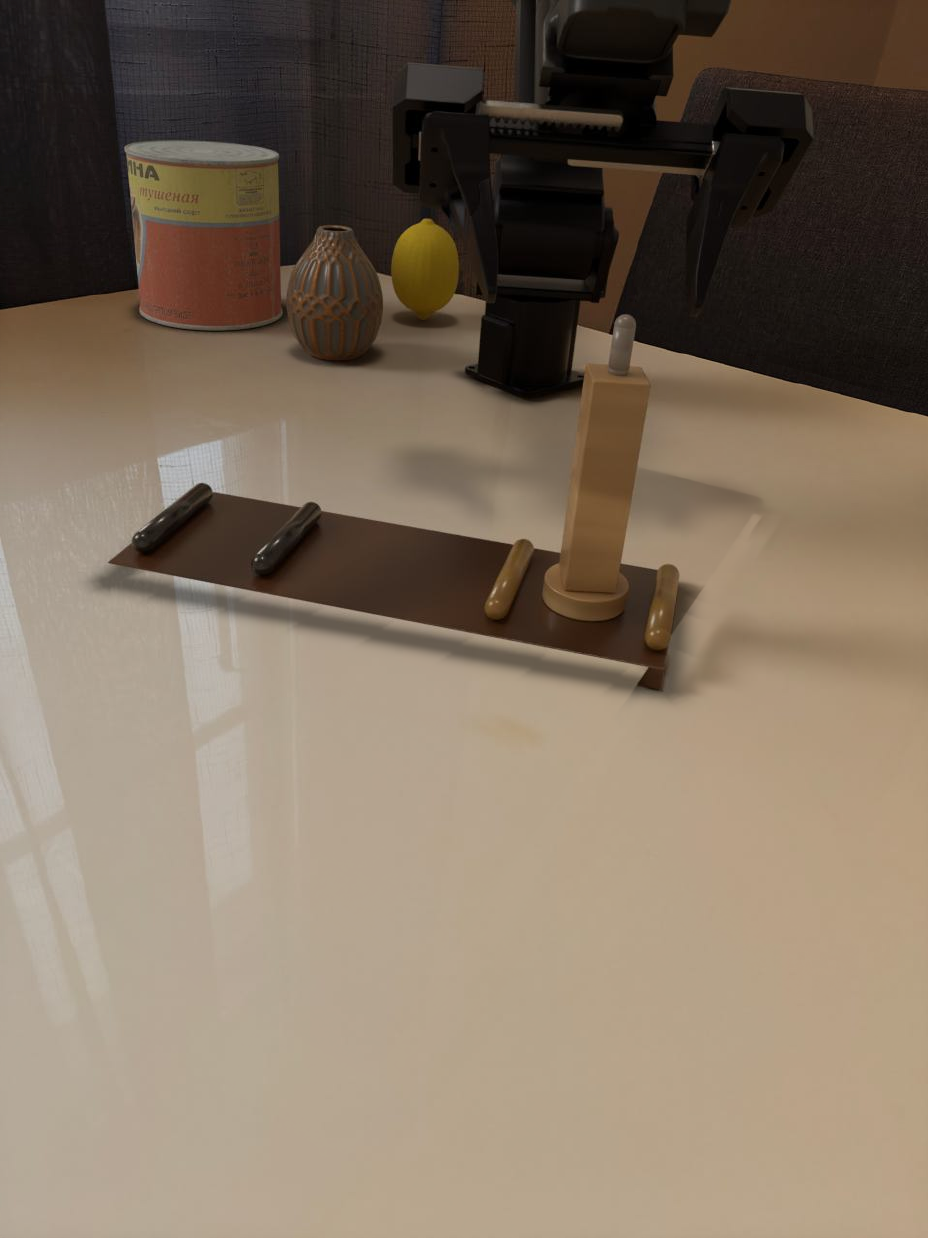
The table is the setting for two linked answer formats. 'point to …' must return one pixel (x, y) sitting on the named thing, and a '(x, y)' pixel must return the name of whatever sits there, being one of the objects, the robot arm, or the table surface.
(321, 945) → the table surface
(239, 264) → the canned food
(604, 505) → the wooden tall post
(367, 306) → the vase
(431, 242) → the lemon
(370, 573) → the board
